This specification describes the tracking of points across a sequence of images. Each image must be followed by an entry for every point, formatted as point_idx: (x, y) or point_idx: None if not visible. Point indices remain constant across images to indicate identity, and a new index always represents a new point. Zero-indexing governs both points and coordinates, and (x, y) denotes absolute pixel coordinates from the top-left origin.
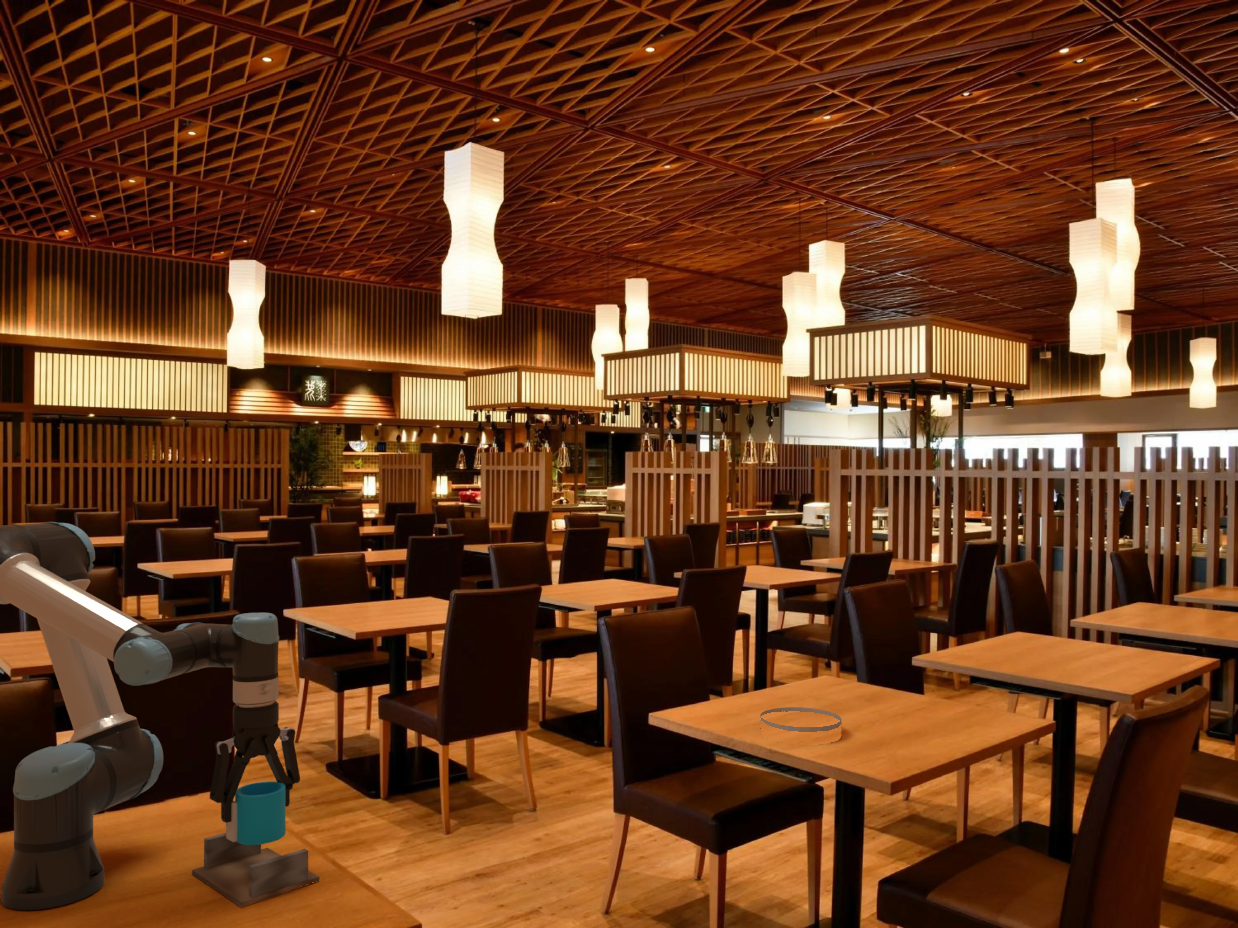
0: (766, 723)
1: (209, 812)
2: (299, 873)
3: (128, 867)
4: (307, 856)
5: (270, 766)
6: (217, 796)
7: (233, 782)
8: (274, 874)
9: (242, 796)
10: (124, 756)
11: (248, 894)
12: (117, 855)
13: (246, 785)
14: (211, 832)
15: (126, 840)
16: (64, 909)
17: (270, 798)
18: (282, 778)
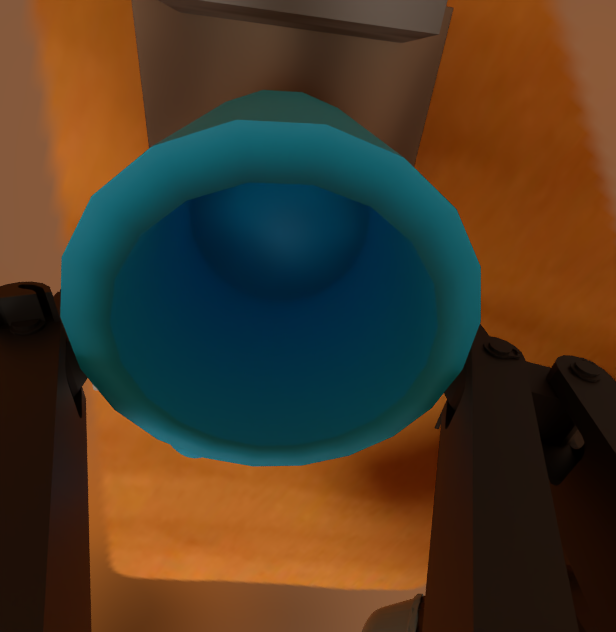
0: None
1: (182, 532)
2: None
3: (413, 437)
4: None
5: (86, 549)
6: (609, 389)
7: (539, 452)
8: None
9: (476, 302)
10: None
11: (393, 58)
12: (389, 482)
13: (299, 457)
14: (222, 472)
15: (342, 516)
16: (605, 361)
17: (307, 119)
18: (39, 378)
